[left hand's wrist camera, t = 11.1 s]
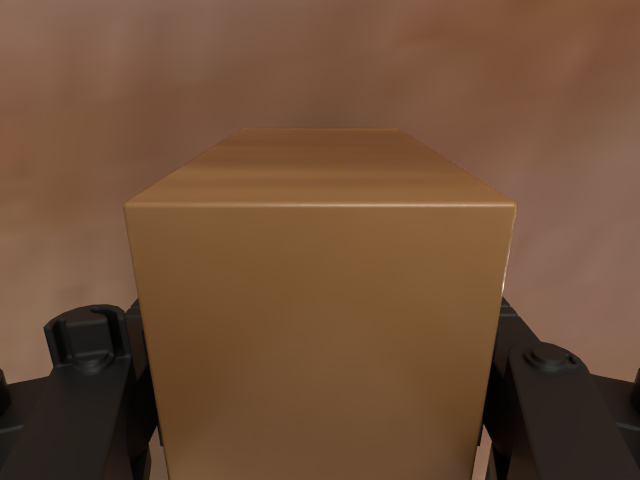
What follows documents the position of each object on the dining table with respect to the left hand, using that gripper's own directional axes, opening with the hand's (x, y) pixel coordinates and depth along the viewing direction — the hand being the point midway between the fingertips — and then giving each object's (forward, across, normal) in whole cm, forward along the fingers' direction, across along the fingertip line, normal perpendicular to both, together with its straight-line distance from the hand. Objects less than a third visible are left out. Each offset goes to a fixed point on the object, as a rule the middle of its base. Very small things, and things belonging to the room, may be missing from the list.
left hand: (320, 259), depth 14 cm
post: (+1, 0, -36) cm, 36 cm away
